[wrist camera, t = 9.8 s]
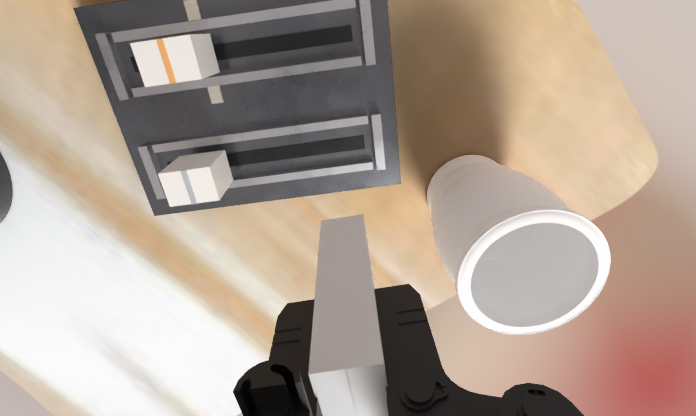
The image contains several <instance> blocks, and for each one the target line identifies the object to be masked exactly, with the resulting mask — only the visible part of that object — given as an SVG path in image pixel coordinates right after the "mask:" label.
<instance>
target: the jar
mask: <svg viewBox="0 0 696 416" xmlns="http://www.w3.org/2000/svg"><path fill="white" fill-rule="evenodd" d="M427 203H428V207H429V210H430V212H431V221H432V227H433V235H434V240H435V245H436V248H437V251H438V254H439V257H440V259H441V261H442V263H443V265H444V267H445V269H446V270H447V272H448V274H449V275H450V277H451V278H452V280H453V281H454V282H455V287H456V292H457V295H458V298H459V300H460V302H461V304H462V305H463V307H464V309H465V310H466V312H467V313H468V314H469V316H471V318H473V320H475V321H476V322H477V323H479V324H480V325H482V326H484V327H485V328H488V329H490V330H493V331H496V332H500V333H504V334H512V335H527V334H535V333H540V332H543V331H548V330H550V329H553V328H556V327H558V326H560V325H563V324H565V323H567V322H568V321H570V320H572V319H573V318H575V317H576V316H578V315H579V314H580V313H582V312H583V311H584V310H585V309H586V308H588V307H589V305H591V303H592V302H593V301H594V300H595V299H596V298H597V296H598V295H599V293H600V292H601V290H602V289H603V287H604V285H605V283H606V280H607V277H608V274H609V270H610V262H611V259H610V250H609V246H608V243H607V241H606V239H605V237H604V236H603V234H602V233H601V231H600V230H599V229H598V228H597V227H596V226H595V225H594V224H593V223H592V222H590V221H589V220H588V219H587V218H585V217H584V216H582V215H581V214H579V213H577V212H575V211H573V210H570V209H569V208H568V207H567V206H566V205H565V203H564V202H563V201H562V200H561V199H560V198H559V197H558V196H557V195H556V194H555V193H553V192H552V191H551V190H550V189H549V188H547V187H546V186H545V185H543V184H542V183H540V182H539V181H537V180H535V179H533V178H531V177H530V176H527V175H525V174H523V173H521V172H518V171H515V170H513V169H511V168H508V167H506V166H503V165H499V164H498V163H497V162H495V161H494V160H492V159H490V158H488V157H485V156H481V155H464V156H460V157H457V158H454V159H452V160H450V161H448V162H447V163H445V164H444V165H443V166H442V167H440V168H439V169H438V170H437V172H436V173H435V174H434V176H433V177H432V179H431V181H430V183H429V186H428V190H427Z"/></svg>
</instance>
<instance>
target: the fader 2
mask: <svg viewBox="0 0 696 416" xmlns="http://www.w3.org/2000/svg"><path fill="white" fill-rule="evenodd" d="M158 176H159V179H160V181H161V184H162V187H163V189H164V192H165V195H166V198H167V200H168V203H169V206H170V207H173V206H181V205H189V204H192V205H193V204H197V203H204V202H211V201H219V200H220V199H221V198H222V196H223V195H224V193H225V192H226V190H227V189H228V187H229V186H230V184H231V183H232V181H233V177H232V173H231V170H230V166H229V163H228V159H227V155H226V152H225V150H221V151H213V152H206V153H199V154H191V155H184V156H179V157H178V158H176V159H175V160H174V161H173V162H172V163H170V164H169V165H168V166H167V167H165V168H164V169H163V170H162V171H161V172H159V173H158Z"/></svg>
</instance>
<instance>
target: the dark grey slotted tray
mask: <svg viewBox="0 0 696 416" xmlns="http://www.w3.org/2000/svg"><path fill="white" fill-rule="evenodd" d="M74 11H75V13H76V16H77V19H78V21H79V24H80V26H81V29H82V31H83V34H84V36H85V39H86V42H87V44H88V47H89V49H90V52H91V54H92V57H93V60H94V62H95V65H96V67H97V70H98V72H99V75H100V77H101V80H102V83H103V85H104V88H105V90H106V93H107V95H108V98H109V100H110V103H111V106H112V108H113V111H114V113H115V116H116V118H117V121H118V123H119V126H120V129H121V131H122V134H123V136H124V139H125V141H126V144H127V147H128V149H129V152H130V154H131V157H132V159H133V162H134V164H135V167H136V170H137V172H138V175H139V177H140V180H141V182H142V185H143V187H144V190H145V193H146V195H147V198H148V200H149V203H150V205H151V208H152V211H153V213H154V216H157V215H165V214H172V213H180V212H188V211H195V210H203V209H211V208H218V207H226V206H234V205H241V204H249V203H257V202H264V201H272V200H280V199H287V198H295V197H303V196H310V195H318V194H326V193H333V192H341V191H349V190H356V189H364V188H372V187H379V186H387V185H395V184H401V177H400V164H399V150H398V137H397V124H396V111H395V98H394V84H393V71H392V58H391V45H390V32H389V19H388V5H387V0H125V1H118V2H112V3H105V4H98V5H92V6H85V7H78V8H74ZM209 33H210V36H211V40H212V44H213V48H214V51H215V55H216V59H217V63H218V67H219V71H220V72H219V73H217V74H214V75H211V76H209V77H206V78H204V79H199V80H192V81H185V82H178V83H172V84H164V85H157V86H150V87H145V86H144V83H143V80H142V77H141V74H140V71H139V68H138V65H137V62H136V60H135V57H134V54H133V51H132V48H131V45H130V43H135V42H141V41H148V40H155V39H162V38H169V37H176V36H183V35H189V34H209ZM221 150H225V152H226V155H227V159H228V163H229V166H230V170H231V173H232V177H233V181H232V183H231V184H230V186H229V187H228V189H227V190H226V192H225V193H224V195H223V196H222V198H221V199H220V200H219V201H211V202H204V203H197V204H193V205H192V204H189V205H181V206H173V207H170V206H169V203H168V200H167V198H166V195H165V192H164V189H163V187H162V184H161V181H160V179H159V176H158V173H159V172H161V171H162V170H163V169H164V168H165V167H167V166H168V165H169V164H170V163H172V162H173V161H174V160H175V159H176V158H178V157H179V156H184V155H191V154H199V153H206V152H213V151H221Z"/></svg>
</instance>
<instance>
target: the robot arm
mask: <svg viewBox="0 0 696 416" xmlns="http://www.w3.org/2000/svg"><path fill="white" fill-rule="evenodd" d="M11 202H12V183H11V178H10V174H9V171H8V169H7V166H6V164H5V162H4V160H3V158H2V156H1V155H0V223H1V222H2V221H3V219H4V218H5V217H6V215H7V213H8V211H9V209H10V206H11ZM272 345H273V346H272V347H271V352H270V357H269V360H268V361H265V362H262V363H259V364H257V365H256V366H254V367H252V368H251V369H249V370H248V371H247V372H246V373H245V374H244V375H243V376H242V377H241V378H240V379H239V380H238V382H237V384H236V386H235V389H234V391H233V393H234V395H235V397H236V400H237V402H238V404H239V407H240V409H241V411H242V414H243V416H584V415H583V414H582V413H581V412H580V411H579V410H578V409H577V408H576V407H575V406H574V405H573V404H572V402H570V401H569V400H568V399H567V398H565V397H564V396H563V395H562V394H561V393H559V392H557V391H555V390H553V389H551V388H548V387H546V386H544V385H539V384H532V383H526V384H520V385H515V386H513V387H512V388H510V389H509V390H507V391H506V392H505V393H504V395H503V397H502V398H500V397H494V396H488V395H482V394H477V393H473V392H469V391H467V390H465V389H463V388H461V387H459V386H457V385H456V384H455V383H454V382H452V381H451V380H450V379H449V377H447V375H446V374H445V372H444V370H443V368H442V365H441V362H440V359H439V356H438V352H437V349H436V346H435V342H434V339H433V336H432V333H431V330H430V326H429V323H428V320H427V316H426V313H425V311H424V307H423V303H422V300H421V297H420V294H419V293H418V292H417V291H416V290H415V289H414V288H413V287H411V286H410V285H409V284H405V285H399V286H392V287H386V288H379V289H375V282H374V275H373V270H372V264H371V258H370V252H369V246H368V240H367V234H366V228H365V222H364V216H363V214H362V215H356V216H350V217H343V218H337V219H331V220H325V221H321V229H320V241H319V253H318V265H317V277H316V289H315V299H314V300H307V301H301V302H294V303H288V304H287V305H286V306H285V307H284V309H283V310H282V312H281V313H280V314H279V316H278V318H277V323H276V328H275V334H274V337H273V342H272Z"/></svg>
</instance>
